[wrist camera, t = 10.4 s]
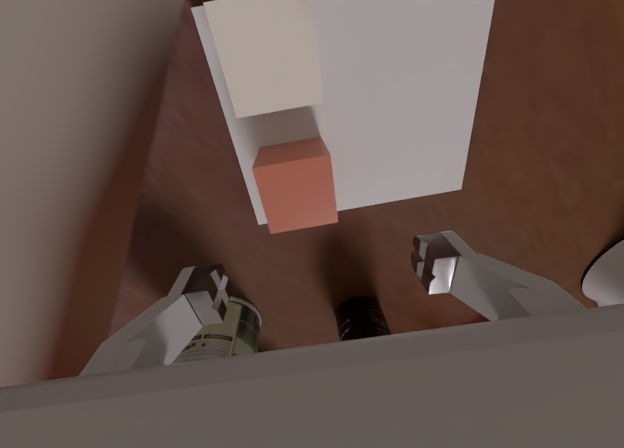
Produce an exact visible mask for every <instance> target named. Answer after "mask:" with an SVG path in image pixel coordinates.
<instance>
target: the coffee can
mask: <svg viewBox="0 0 624 448" xmlns="http://www.w3.org/2000/svg"><path fill="white" fill-rule="evenodd" d="M225 305H226V308H227V310H226V314H225V317H224V321H223V322H222V323H216V324H210V325H204V326H202V328H201V329H200V330H199V331H198V333H197V334H196V335H195V336H194V337H193V339H192V340H191V341H190V342H189V343H188V344H187V346H186V347H185V348H184V349H183V350H182V351H181V353H180V354H179V355H178V356H177V357H176V359H175V360H174V361H173V362H172V363H171V364H176V363H183V362H191V361H198V360H206V359H213V358H221V357H228V356H236V355H243V354H250V353H257V350H258V341H259V332H260V326H261V316H260V314H259V312H258V311H257V309H256V308H255V307H254V306H253V305H251V304H250V303H248V302H247V301H245V300H243V299H240V298H236V297H232V296H230V300H229V301H228V302H227V303H226V304H225Z"/></svg>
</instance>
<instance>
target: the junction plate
mask: <svg viewBox="0 0 624 448" xmlns="http://www.w3.org/2000/svg"><path fill="white" fill-rule="evenodd" d="M494 1H495V0H312V2H313V11H314V20H315V28H316V37H317V46H318V54H319V63H320V72H321V81H322V89H323V98H324V103H320V104H315V105H309V106H304V107H298V108H292V109H287V110H281V111H276V112H270V113H264V114H259V115H253V116H248V117H242V118H236V114H235V111H234V107H233V104H232V101H231V97H230V94H229V90H228V87H227V83H226V80H225V76H224V73H223V70H222V66H221V63H220V59H219V56H218V52H217V49H216V46H215V42H214V39H213V35H212V32H211V28H210V25H209V21H208V18H207V15H206V11H205V8H204V6H198V7H193V8H191V10H192V13H193V16H194V19H195V23H196V26H197V29H198V32H199V35H200V39H201V42H202V45H203V48H204V51H205V54H206V58H207V61H208V64H209V67H210V70H211V74H212V77H213V80H214V83H215V86H216V90H217V93H218V96H219V99H220V102H221V106H222V109H223V112H224V115H225V118H226V122H227V125H228V128H229V131H230V134H231V138H232V141H233V144H234V147H235V150H236V154H237V157H238V160H239V163H240V166H241V170H242V173H243V176H244V179H245V182H246V186H247V189H248V192H249V195H250V198H251V202H252V205H253V208H254V211H255V214H256V218H257V221H258V224H259V225H260V224H266V223H267V219H266V216H265V212H264V209H263V205H262V202H261V199H260V195H259V192H258V188H257V185H256V181H255V178H254V174H253V171H252V166H253V164H254V161H255V159H256V156H257V154H258V151H259V149H260V147H265V146H270V145H276V144H281V143H287V142H293V141H298V140H304V139H310V138H315V137H321V138H322V140H323V141H324V143H325V145H326V147H327V149H328V151H329V152H330V154H331V163H332V172H333V181H334V189H335V198H336V207H337V211H340V210H346V209H351V208H357V207H363V206H369V205H374V204H380V203H386V202H391V201H397V200H403V199H409V198H414V197H420V196H426V195H431V194H437V193H443V192H448V191H454V190H460V189H461V188H462V182H463V176H464V171H465V165H466V160H467V154H468V148H469V143H470V137H471V131H472V126H473V120H474V114H475V109H476V103H477V97H478V92H479V86H480V80H481V75H482V69H483V63H484V58H485V52H486V46H487V41H488V35H489V29H490V24H491V18H492V12H493V7H494Z"/></svg>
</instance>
